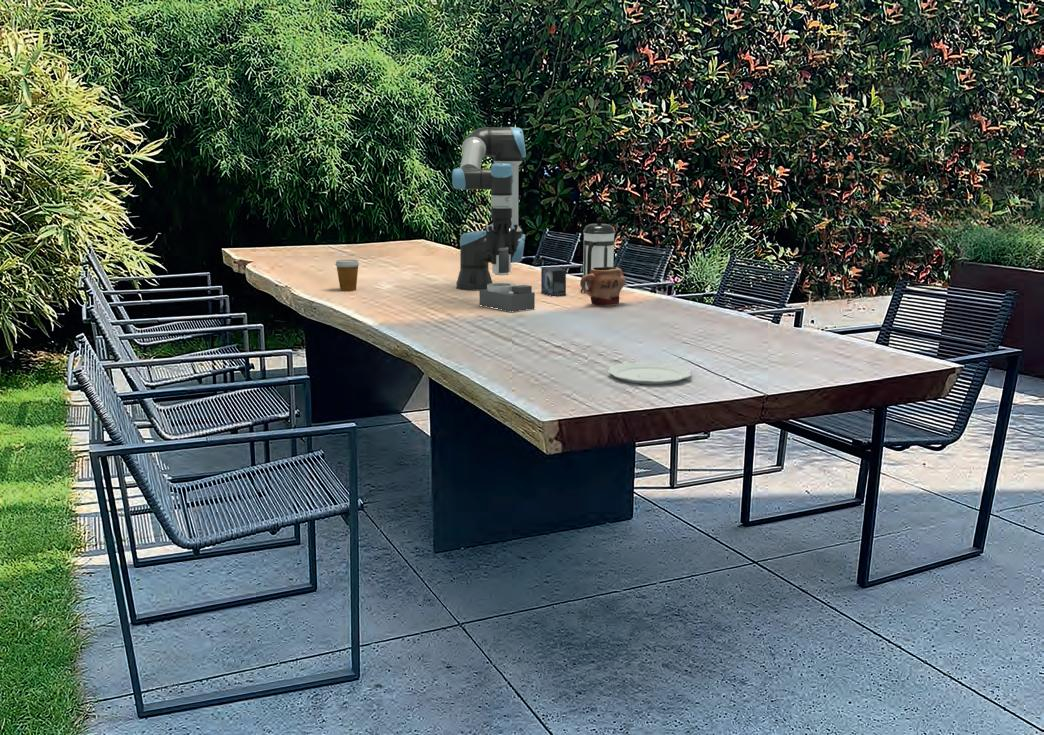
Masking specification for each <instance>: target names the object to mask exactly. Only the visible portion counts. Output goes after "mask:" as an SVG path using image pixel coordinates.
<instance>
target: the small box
mask: <svg viewBox="0 0 1044 735" xmlns="http://www.w3.org/2000/svg"><path fill="white" fill-rule="evenodd" d="M540 271H541V272H540V273H541V274H540V275H541V276H540V278H541V279H540V280H541V284H540V285H541V286H540V289H541V290H540V292H541V294H543V293H544V295H546V294H548V295H547V296H549V295H551V296H550V297H552V296H556V297H565V296H567V269H566V268H565V269H564V268H561V267H558V266H548V267H547V266H546V267H541V268H540Z"/></svg>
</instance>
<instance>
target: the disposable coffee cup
mask: <svg viewBox="0 0 1044 735" xmlns="http://www.w3.org/2000/svg"><path fill="white" fill-rule="evenodd" d="M359 266H360V263H359V260H357V259H338V260H336V261H335V267H336V272H337V276H338V283H339V290H340V291H342V292H354V291H355V292H356V291H357V285H358V284H357V283H358V274H359V271H358V270H359Z"/></svg>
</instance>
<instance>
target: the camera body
mask: <svg viewBox="0 0 1044 735" xmlns="http://www.w3.org/2000/svg"><path fill="white" fill-rule="evenodd" d="M532 288H533V287H532V285H527V284H521V285H520V284H519V285H516V284H515V283H510V282H493V283H491V284H487V289H482V290H478V292H479V306H480V305H482V306H487V307H493V308H498V309H502V310H506V311H505V312H507V311H511V312H510V313H513V312H512V311H518V312H520V311H519V310H525V311H527V310H526V309H532V310H535V309H536V308H535V307H536V306H535V304H536V303H535V302H536V301H535V299H536V298H535V297H536V294H535V292H533V291H532V290H533V289H532ZM482 306H481V307H482ZM487 307H486V308H487ZM534 308H535V309H534ZM502 310H501V311H502Z"/></svg>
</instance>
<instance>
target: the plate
mask: <svg viewBox="0 0 1044 735" xmlns="http://www.w3.org/2000/svg"><path fill="white" fill-rule="evenodd" d="M607 373H608V374H609V375H612V376H614V377H615V378H618V379H619V380H622V381H625V382H629V383H633V384H640V385H641V384H642V385H665V384H673V383H677V382H679V381H681V380H684V379H688V378H690V377H691V376H692V371H691V369H689V368H686V367H684V366H681V365H676V364H670V363H667V362H666V363H665V362H650V361H635V362H624V363H619V364H616V365H612V366H610V367H609V368H608V370H607Z"/></svg>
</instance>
